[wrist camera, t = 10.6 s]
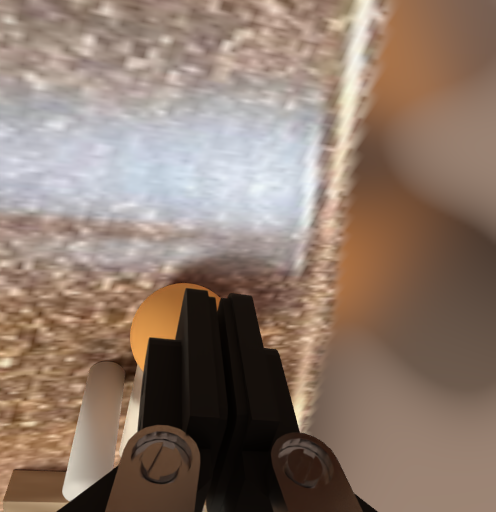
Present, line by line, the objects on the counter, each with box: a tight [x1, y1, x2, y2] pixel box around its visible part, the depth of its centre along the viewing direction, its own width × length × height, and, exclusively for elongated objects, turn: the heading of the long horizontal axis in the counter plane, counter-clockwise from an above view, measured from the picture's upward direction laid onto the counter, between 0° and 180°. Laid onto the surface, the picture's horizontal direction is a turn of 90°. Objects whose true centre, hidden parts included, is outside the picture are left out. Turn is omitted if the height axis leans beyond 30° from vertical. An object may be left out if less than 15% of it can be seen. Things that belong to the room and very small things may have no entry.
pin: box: [62, 361, 125, 501], centre depth 29 cm, size 2×2×8 cm
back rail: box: [3, 470, 207, 512], centre depth 37 cm, size 2×18×2 cm, turn 77°
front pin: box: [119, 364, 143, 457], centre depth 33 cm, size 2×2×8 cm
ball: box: [130, 283, 221, 371], centre depth 27 cm, size 6×6×6 cm
